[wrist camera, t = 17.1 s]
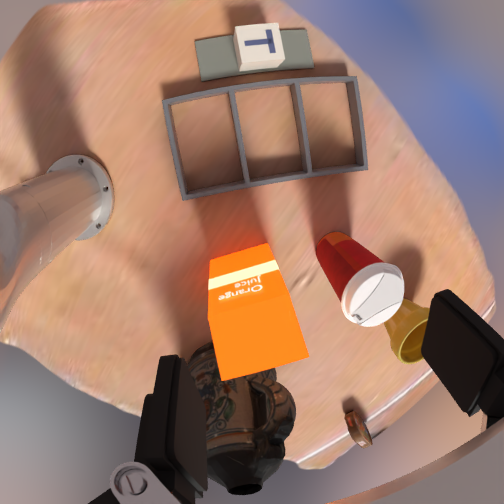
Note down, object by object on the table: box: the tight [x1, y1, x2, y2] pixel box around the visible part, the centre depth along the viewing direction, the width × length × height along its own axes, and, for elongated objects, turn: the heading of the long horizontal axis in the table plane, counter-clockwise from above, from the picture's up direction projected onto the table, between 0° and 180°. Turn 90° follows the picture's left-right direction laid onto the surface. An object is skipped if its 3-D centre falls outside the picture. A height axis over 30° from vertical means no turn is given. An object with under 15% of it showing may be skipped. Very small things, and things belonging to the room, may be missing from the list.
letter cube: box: [233, 23, 285, 72], centre depth 30 cm, size 5×5×5 cm
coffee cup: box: [316, 232, 404, 327], centre depth 38 cm, size 8×8×15 cm
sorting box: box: [162, 76, 368, 201], centre depth 36 cm, size 25×13×2 cm, turn 99°
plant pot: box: [384, 298, 430, 364], centre depth 47 cm, size 10×10×10 cm
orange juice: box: [208, 243, 309, 381], centre depth 35 cm, size 8×9×20 cm
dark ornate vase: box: [187, 342, 296, 495], centre depth 40 cm, size 16×19×25 cm
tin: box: [345, 411, 372, 448], centre depth 61 cm, size 15×3×8 cm, turn 33°
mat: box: [195, 30, 314, 82], centre depth 32 cm, size 15×6×1 cm, turn 99°
